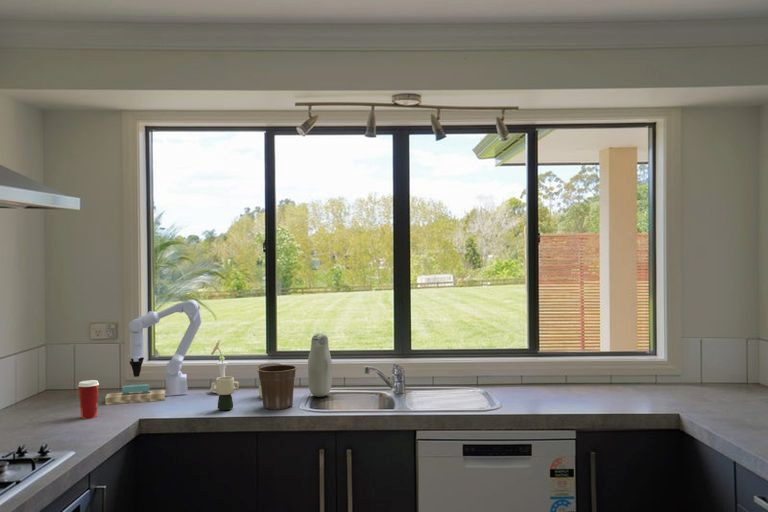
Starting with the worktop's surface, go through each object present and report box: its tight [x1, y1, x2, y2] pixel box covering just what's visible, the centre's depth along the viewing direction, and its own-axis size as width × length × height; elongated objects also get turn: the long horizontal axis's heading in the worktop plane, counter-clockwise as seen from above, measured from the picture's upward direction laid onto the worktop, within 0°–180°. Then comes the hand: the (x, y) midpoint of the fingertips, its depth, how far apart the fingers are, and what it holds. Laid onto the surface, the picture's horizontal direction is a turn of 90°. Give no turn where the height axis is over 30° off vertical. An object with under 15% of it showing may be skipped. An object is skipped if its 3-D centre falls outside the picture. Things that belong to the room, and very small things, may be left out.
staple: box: [121, 383, 150, 395], centre depth 284 cm, size 11×3×6 cm, turn 108°
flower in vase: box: [209, 339, 236, 394], centre depth 298 cm, size 13×11×25 cm
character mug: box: [210, 376, 240, 411], centre depth 264 cm, size 11×7×13 cm, turn 102°
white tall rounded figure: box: [307, 333, 333, 398], centre depth 287 cm, size 10×10×28 cm
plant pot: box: [256, 364, 297, 411], centre depth 269 cm, size 16×16×16 cm
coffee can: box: [257, 362, 282, 399], centre depth 289 cm, size 10×10×14 cm
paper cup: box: [77, 379, 100, 420], centre depth 255 cm, size 8×8×14 cm
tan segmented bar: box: [104, 389, 166, 406], centre depth 284 cm, size 24×9×3 cm, turn 108°
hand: (137, 375), depth 294 cm, fingers open, 7 cm apart
